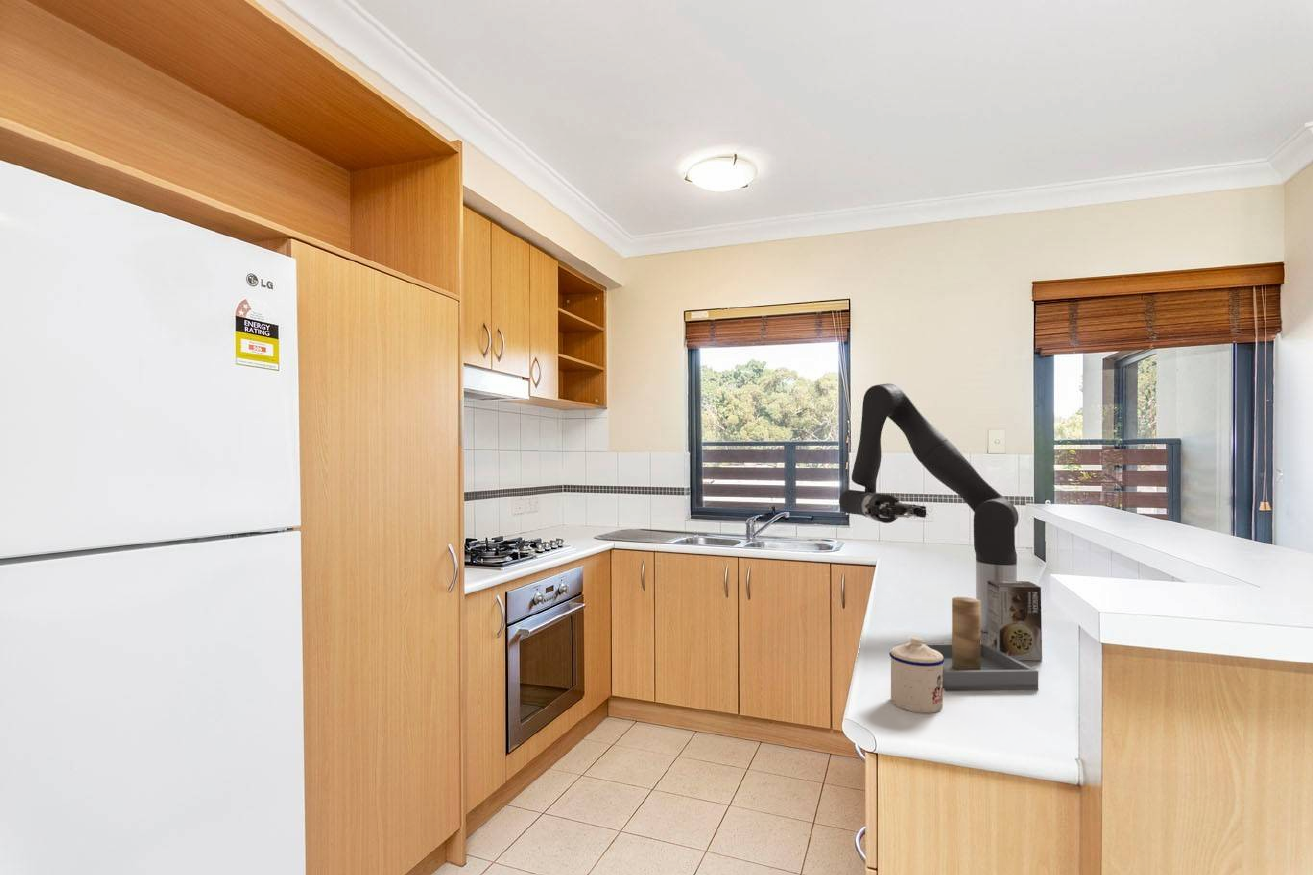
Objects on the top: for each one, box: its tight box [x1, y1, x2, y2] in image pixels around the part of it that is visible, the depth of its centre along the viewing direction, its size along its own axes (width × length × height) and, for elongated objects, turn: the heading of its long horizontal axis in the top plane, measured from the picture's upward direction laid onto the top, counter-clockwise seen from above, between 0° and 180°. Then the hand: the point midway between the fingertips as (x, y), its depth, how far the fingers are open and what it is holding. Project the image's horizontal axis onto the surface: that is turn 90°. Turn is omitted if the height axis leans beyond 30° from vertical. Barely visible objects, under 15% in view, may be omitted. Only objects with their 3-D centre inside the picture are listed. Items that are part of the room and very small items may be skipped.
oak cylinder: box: [951, 596, 982, 670], centre depth 132 cm, size 5×5×14 cm
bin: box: [924, 642, 1039, 692], centre depth 132 cm, size 18×18×4 cm
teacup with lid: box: [889, 636, 944, 714], centre depth 117 cm, size 12×9×12 cm
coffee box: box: [987, 580, 1043, 662], centre depth 144 cm, size 9×6×16 cm
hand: (907, 513), depth 159 cm, fingers open, 8 cm apart
